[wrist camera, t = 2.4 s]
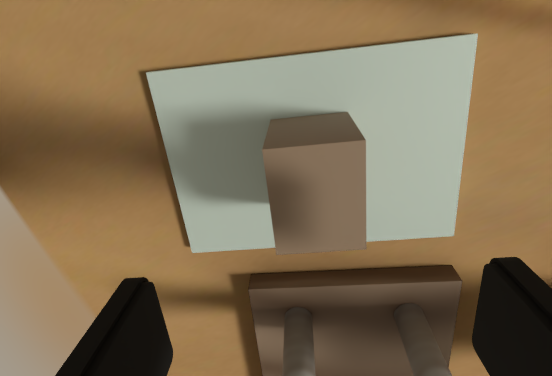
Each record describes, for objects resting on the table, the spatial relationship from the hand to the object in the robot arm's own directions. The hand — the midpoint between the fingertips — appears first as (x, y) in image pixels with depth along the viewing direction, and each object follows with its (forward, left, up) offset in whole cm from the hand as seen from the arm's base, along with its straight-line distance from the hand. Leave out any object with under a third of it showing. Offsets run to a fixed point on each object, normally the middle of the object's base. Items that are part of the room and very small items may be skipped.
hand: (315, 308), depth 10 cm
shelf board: (-1, 0, -11) cm, 11 cm away
